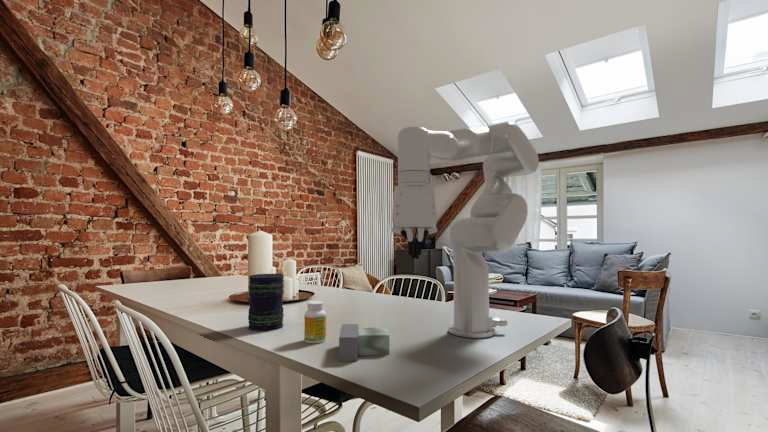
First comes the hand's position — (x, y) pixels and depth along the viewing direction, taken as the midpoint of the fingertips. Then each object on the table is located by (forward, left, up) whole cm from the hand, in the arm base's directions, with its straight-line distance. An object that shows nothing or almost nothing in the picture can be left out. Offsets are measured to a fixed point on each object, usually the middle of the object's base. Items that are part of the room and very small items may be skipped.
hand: (414, 258), depth 91 cm
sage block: (+10, -2, -22) cm, 24 cm away
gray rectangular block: (+15, 0, -22) cm, 26 cm away
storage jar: (+40, -25, -22) cm, 52 cm away
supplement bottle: (+24, -10, -22) cm, 34 cm away
